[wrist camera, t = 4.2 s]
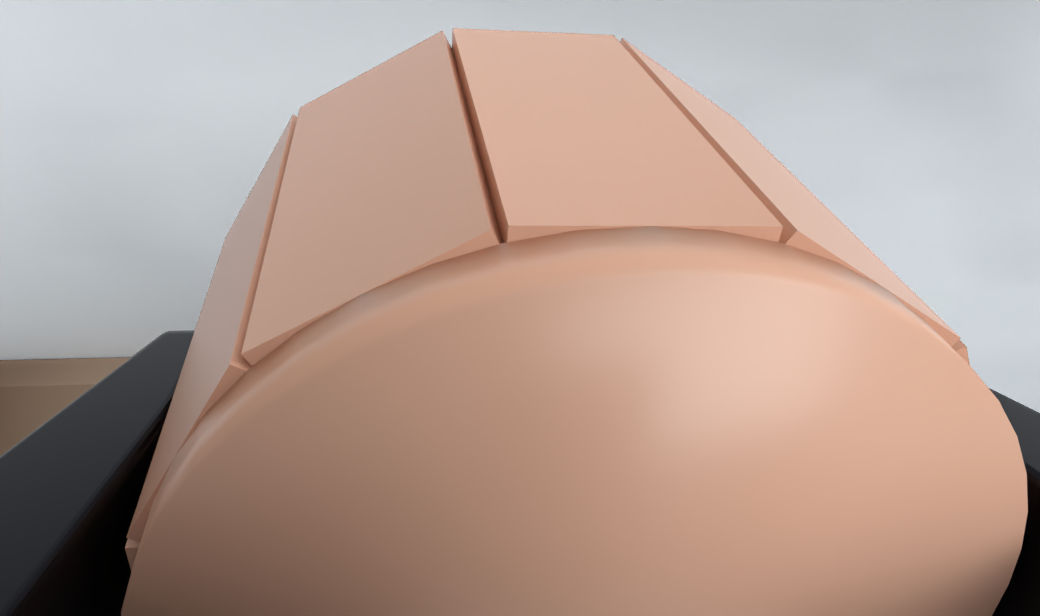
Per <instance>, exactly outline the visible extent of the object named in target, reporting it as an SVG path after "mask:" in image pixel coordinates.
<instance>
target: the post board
mask: <svg viewBox="0 0 1040 616" xmlns="http://www.w3.org/2000/svg"><path fill="white" fill-rule="evenodd" d="M130 358H131V357H129V358H83V359H36V360H0V456H1V455H3V454H4V453H5V452H7V451H8V450H9V449H11V448H12V447H13V446H15V445H16V444H17V443H19V442H20V441H21V440H23V439H24V438H25V437H27V436H28V435H29V434H30V433H32V432H33V431H34V430H36V429H37V428H38V427H40V426H41V425H42V424H44V423H45V422H46V421H48V420H49V419H50V418H52V417H53V416H54V415H56V414H57V413H58V412H60V411H61V410H62V409H64V408H65V407H66V406H68V405H69V404H70V403H72V402H73V401H74V400H76V399H77V398H78V397H79V396H81V395H82V394H83V393H85V392H86V391H87V390H89V389H90V388H91V387H93V386H94V385H95V384H97V383H98V382H99V381H101V380H102V379H103V378H105V377H106V376H107V375H109V374H110V373H111V372H113V371H114V370H115V369H117V368H118V367H119V366H121V365H122V364H123V363H125V362H126V361H127V360H128V359H130Z"/></svg>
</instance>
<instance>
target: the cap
mask: <svg viewBox="0 0 1040 616" xmlns="http://www.w3.org/2000/svg"><path fill="white" fill-rule="evenodd" d="M959 339H960V337H959V336H958V335H957V334H956V333H955V332H954V331H953V330H952V329H951V328H950V327H949V326H948V325H947V324H946V323H945V322H944V321H943V320H942V319H941V318H940V317H939V316H938V315H937V314H935V313H934V312H933V311H932V310H931V309H930V308H929V307H928V306H927V305H926V304H925V303H924V302H923V301H922V300H921V299H920V298H919V297H918V296H917V295H916V294H915V293H914V292H913V291H912V290H911V289H910V288H909V287H908V286H907V285H906V284H905V283H904V282H903V281H902V280H901V279H900V278H899V277H898V276H896V275H895V274H894V273H893V272H892V271H891V270H890V269H889V268H888V267H887V266H886V265H885V264H884V263H883V262H882V261H881V260H880V259H879V258H878V257H877V256H876V255H875V254H874V253H873V252H872V251H871V250H870V249H869V248H868V247H867V246H866V245H865V244H864V243H863V242H862V241H861V240H860V239H859V238H857V237H856V236H855V235H854V234H853V233H852V232H851V231H850V230H849V229H848V228H847V227H846V226H845V225H844V224H843V223H842V222H841V221H840V220H839V219H838V218H837V217H836V216H835V215H834V214H833V213H832V212H831V211H830V210H829V209H828V208H827V207H826V206H825V205H824V204H823V203H822V202H821V201H820V200H818V199H817V198H816V197H815V196H814V195H813V194H812V193H811V192H810V191H809V190H808V189H807V188H806V187H805V186H804V185H803V184H802V183H801V182H800V181H799V180H798V179H797V178H796V177H795V176H794V175H793V174H792V173H791V172H790V171H789V170H788V169H787V168H786V167H785V166H784V165H783V164H782V163H781V162H779V161H778V160H777V159H776V158H775V157H774V156H773V155H772V154H771V153H770V152H769V151H768V150H767V149H766V148H765V147H764V146H763V145H762V144H761V143H760V142H759V141H758V140H757V139H756V138H755V137H754V136H753V135H752V134H751V133H750V132H749V131H748V130H747V129H746V128H745V127H744V126H743V125H742V124H741V123H739V122H738V121H737V120H736V119H735V118H734V117H732V116H731V115H730V114H728V113H727V112H725V111H724V110H723V109H721V108H720V107H718V106H717V105H716V104H714V103H713V102H711V101H710V100H709V99H707V98H706V97H704V96H703V95H702V94H700V93H699V92H697V91H696V90H695V89H693V88H692V87H690V86H689V85H688V84H686V83H685V82H683V81H682V80H681V79H679V78H678V77H676V76H675V75H673V74H672V73H671V72H669V71H668V70H666V69H665V68H664V67H662V66H661V65H659V64H658V63H657V62H655V61H654V60H652V59H651V58H650V57H648V56H647V55H645V54H644V53H643V52H641V51H640V50H638V49H637V48H636V47H634V46H633V45H631V44H630V43H629V42H627V41H626V40H624V39H623V38H622V39H621V41H620V42H619V41H618V40H617V39H616V37H615V36H614V35H599V34H575V33H551V32H527V31H504V30H480V29H456V28H453V31H452V48H451V46H450V44H449V42H448V40H447V38H446V36H445V35H444V33H443V31H441V32H439V33H437V34H435V35H433V36H432V37H430V38H428V39H426V40H424V41H422V42H421V43H419V44H417V45H415V46H413V47H411V48H409V49H408V50H406V51H404V52H402V53H400V54H398V55H396V56H395V57H393V58H391V59H389V60H387V61H385V62H383V63H382V64H380V65H378V66H376V67H374V68H372V69H371V70H369V71H367V72H365V73H363V74H361V75H359V76H358V77H356V78H354V79H352V80H350V81H348V82H346V83H345V84H343V85H341V86H339V87H337V88H335V89H333V90H332V91H330V92H328V93H326V94H324V95H322V96H321V97H319V98H317V99H315V100H313V101H311V102H309V103H308V104H306V105H304V106H302V107H300V109H299V114H298V117H297V116H295V115H292V117H291V119H290V121H289V123H288V125H287V126H286V128H285V130H284V132H283V134H282V136H281V137H280V139H279V141H278V143H277V145H276V146H275V148H274V150H273V152H272V154H271V156H270V157H269V159H268V161H267V163H266V165H265V167H264V168H263V170H262V172H261V174H260V176H259V178H258V179H257V181H256V183H255V185H254V187H253V189H252V190H251V192H250V194H249V196H248V198H247V200H246V201H245V203H244V205H243V207H242V209H241V210H240V212H239V214H238V216H237V218H236V220H235V221H234V223H233V225H232V227H231V229H230V231H229V232H228V234H227V236H226V238H225V241H224V244H223V247H222V250H221V253H220V256H219V259H218V262H217V265H216V268H215V271H214V274H213V277H212V280H211V283H210V286H209V289H208V292H207V295H206V298H205V301H204V304H203V307H202V310H201V313H200V316H199V319H198V322H197V325H196V328H195V331H194V335H193V338H192V341H191V344H190V347H189V350H188V353H187V356H186V359H185V362H184V365H183V368H182V371H181V374H180V377H179V380H178V383H177V386H176V389H175V392H174V395H173V398H172V401H171V404H170V407H169V410H168V413H167V416H166V419H165V422H164V425H163V428H162V431H161V434H160V437H159V440H158V443H157V446H156V449H155V452H154V455H153V458H152V461H151V464H150V467H149V470H148V473H147V476H146V479H145V482H144V485H143V488H142V491H141V494H140V497H139V500H138V504H137V507H136V510H135V513H134V516H133V519H132V522H131V525H130V528H129V531H128V534H127V537H126V538H128V540H127V543H126V546H125V551H126V555H127V558H128V562H129V565H130V569H131V575H130V579H129V583H128V587H127V591H126V594H125V598H124V602H123V606H122V610H121V616H992V615H993V613H994V611H995V609H996V607H997V605H998V603H999V602H1000V600H1001V598H1002V596H1003V594H1004V592H1005V590H1006V589H1007V587H1008V585H1009V582H1010V579H1011V577H1012V574H1013V571H1014V568H1015V565H1016V563H1017V560H1018V557H1019V554H1020V551H1021V549H1022V543H1023V537H1024V531H1025V526H1026V520H1027V514H1028V498H1027V473H1026V469H1025V465H1024V461H1023V457H1022V453H1021V449H1020V445H1019V441H1018V437H1017V435H1016V433H1015V431H1014V429H1013V427H1012V425H1011V423H1010V421H1009V419H1008V417H1007V415H1006V414H1005V412H1004V410H1003V408H1002V406H1001V404H1000V402H999V400H998V399H997V398H996V396H995V395H994V394H993V393H992V392H991V391H990V389H989V388H988V387H987V386H986V385H985V383H984V382H983V381H982V380H981V379H980V377H979V376H978V375H977V374H976V373H975V371H974V370H973V369H972V368H971V367H970V364H969V359H968V353H967V347H966V346H965V345H964V344H963V343H962V342H961V341H960V340H959Z"/></svg>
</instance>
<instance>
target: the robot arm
mask: <svg viewBox="0 0 1040 616" xmlns="http://www.w3.org/2000/svg"><path fill="white" fill-rule="evenodd" d="M193 335H194V331H168V332H165V333H164V334H162V335H160V336H159V337H158V338H156V339H155V340H154V341H152V342H151V343H150V344H148V345H147V346H146V347H144V348H143V349H142V350H140V351H139V352H138V353H136V354H135V355H134V356H132V357H131V358H130V359H128V360H127V361H126V362H125V363H123V364H122V365H121V366H119V367H118V368H117V369H115V370H114V371H113V372H111V373H110V374H109V375H107V376H106V377H105V378H103V379H102V380H101V381H99V382H98V383H97V384H95V385H94V386H93V387H91V388H90V389H89V390H87V391H86V392H85V393H83V394H82V395H81V396H79V397H78V398H77V399H76V400H74V401H73V402H72V403H70V404H69V405H68V406H66V407H65V408H64V409H62V410H61V411H60V412H58V413H57V414H56V415H54V416H53V417H52V418H50V419H49V420H48V421H46V422H45V423H44V424H42V425H41V426H40V427H38V428H37V429H36V430H34V431H33V432H32V433H30V434H29V435H28V436H27V437H25V438H24V439H23V440H21V441H20V442H19V443H17V444H16V445H15V446H13V447H12V448H11V449H9V450H8V451H7V452H5V453H4V454H3V455H1V456H0V616H121V610H122V606H123V602H124V598H125V594H126V591H127V587H128V583H129V579H130V575H131V569H130V565H129V562H128V558H127V555H126V551H125V546H126V543H127V540H128V538H126V537H127V534H128V531H129V528H130V525H131V522H132V519H133V516H134V513H135V510H136V507H137V504H138V500H139V497H140V494H141V491H142V488H143V485H144V482H145V479H146V476H147V473H148V470H149V467H150V464H151V461H152V458H153V455H154V452H155V449H156V446H157V443H158V440H159V437H160V434H161V431H162V428H163V425H164V422H165V419H166V416H167V413H168V410H169V407H170V404H171V401H172V398H173V395H174V392H175V389H176V386H177V383H178V380H179V377H180V374H181V371H182V368H183V365H184V362H185V359H186V356H187V353H188V350H189V347H190V344H191V341H192V338H193ZM989 389H990V388H989ZM990 391H991V392H992V393H993V394H994V395H995V396H996V398H997V399H998V400H999V402H1000V404H1001V406H1002V408H1003V410H1004V412H1005V414H1006V415H1007V417H1008V419H1009V421H1010V423H1011V425H1012V427H1013V429H1014V431H1015V433H1016V435H1017V437H1018V441H1019V445H1020V449H1021V453H1022V457H1023V461H1024V465H1025V469H1026V473H1027V498H1028V514H1027V520H1026V526H1025V531H1024V537H1023V543H1022V549H1021V551H1020V554H1019V557H1018V560H1017V563H1016V565H1015V568H1014V571H1013V574H1012V577H1011V579H1010V582H1009V585H1008V587H1007V589H1006V590H1005V592H1004V594H1003V596H1002V598H1001V600H1000V602H999V603H998V605H997V607H996V609H995V611H994V613H993V615H992V616H1040V413H1038V412H1036V411H1034V410H1032V409H1030V408H1028V407H1026V406H1024V405H1022V404H1020V403H1018V402H1016V401H1014V400H1012V399H1010V398H1008V397H1006V396H1004V395H1002V394H1000V393H998V392H996V391H994V390H992V389H990Z"/></svg>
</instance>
